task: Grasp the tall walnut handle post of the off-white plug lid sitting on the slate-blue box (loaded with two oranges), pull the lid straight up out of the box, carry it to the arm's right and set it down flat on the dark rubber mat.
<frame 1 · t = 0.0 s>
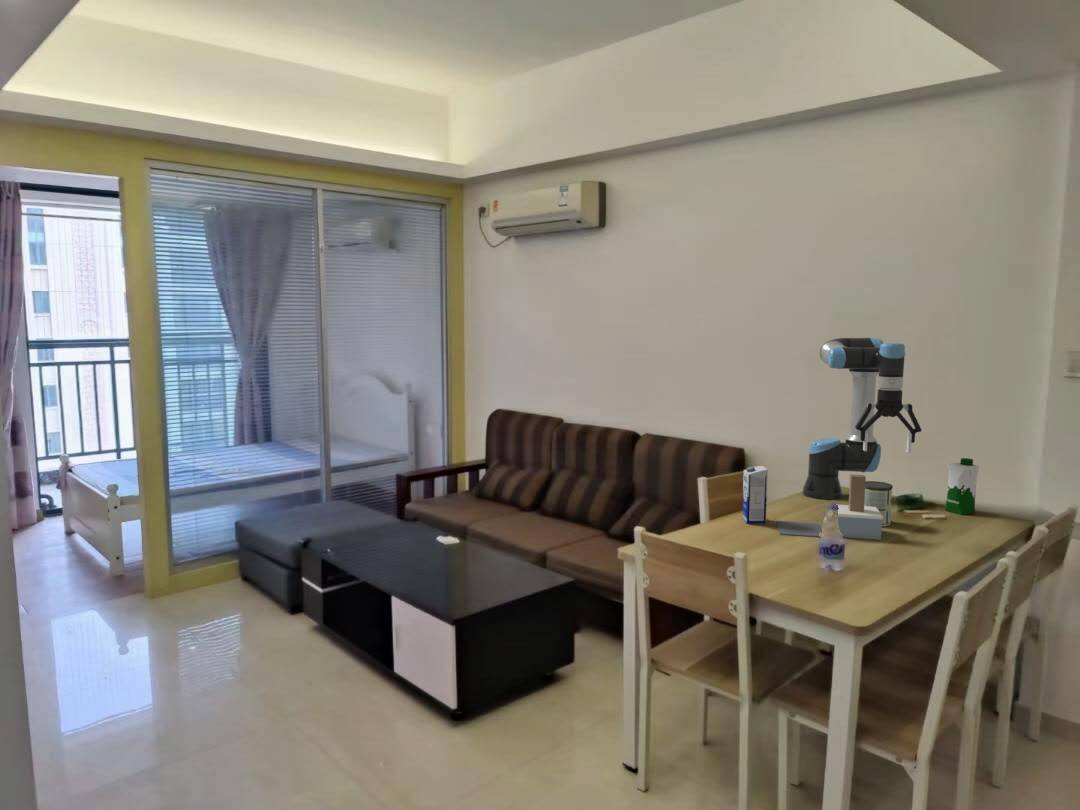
hand: (886, 451, 248), 28 cm above the table, fingers open, 13 cm apart
milk carton: (753, 521, 265), on the table
coffee can: (874, 523, 262), on the table
box: (854, 532, 250), on the table
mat: (799, 529, 254), on the table
lid: (855, 513, 249), point 7 cm above the table, touching box
soya milk: (959, 512, 276), on the table
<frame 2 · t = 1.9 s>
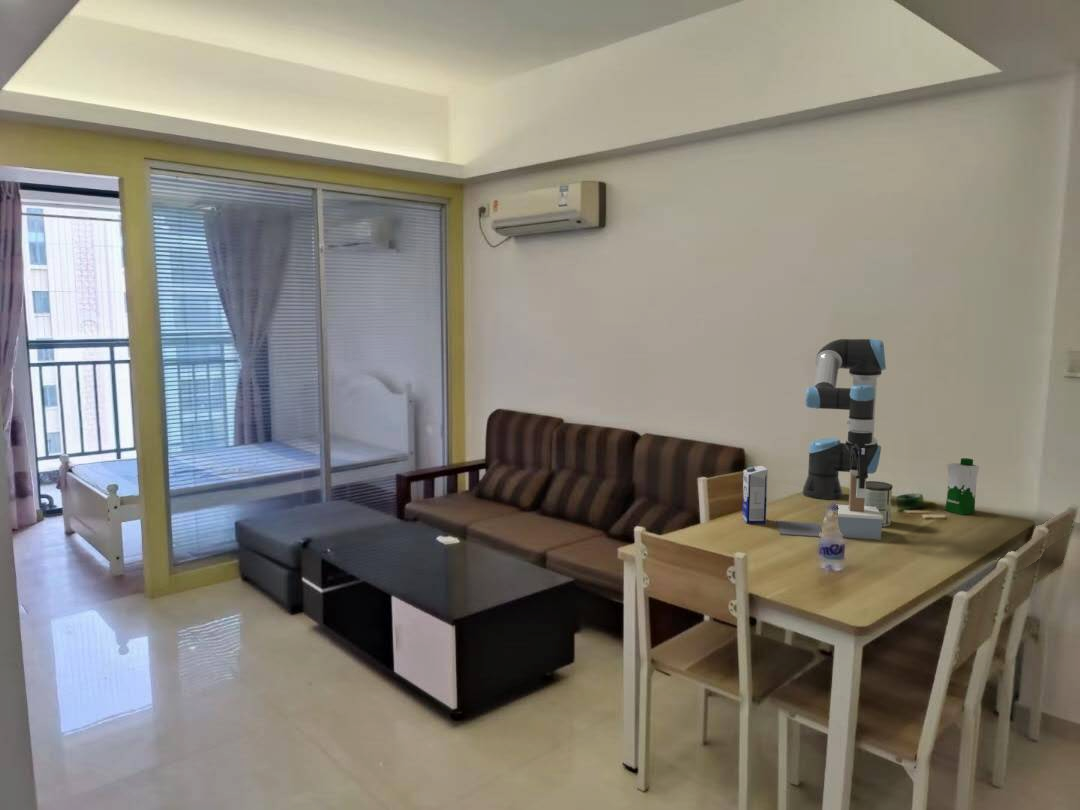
hand: (856, 493, 248), 14 cm above the table, fingers open, 13 cm apart
nothing on the table moved.
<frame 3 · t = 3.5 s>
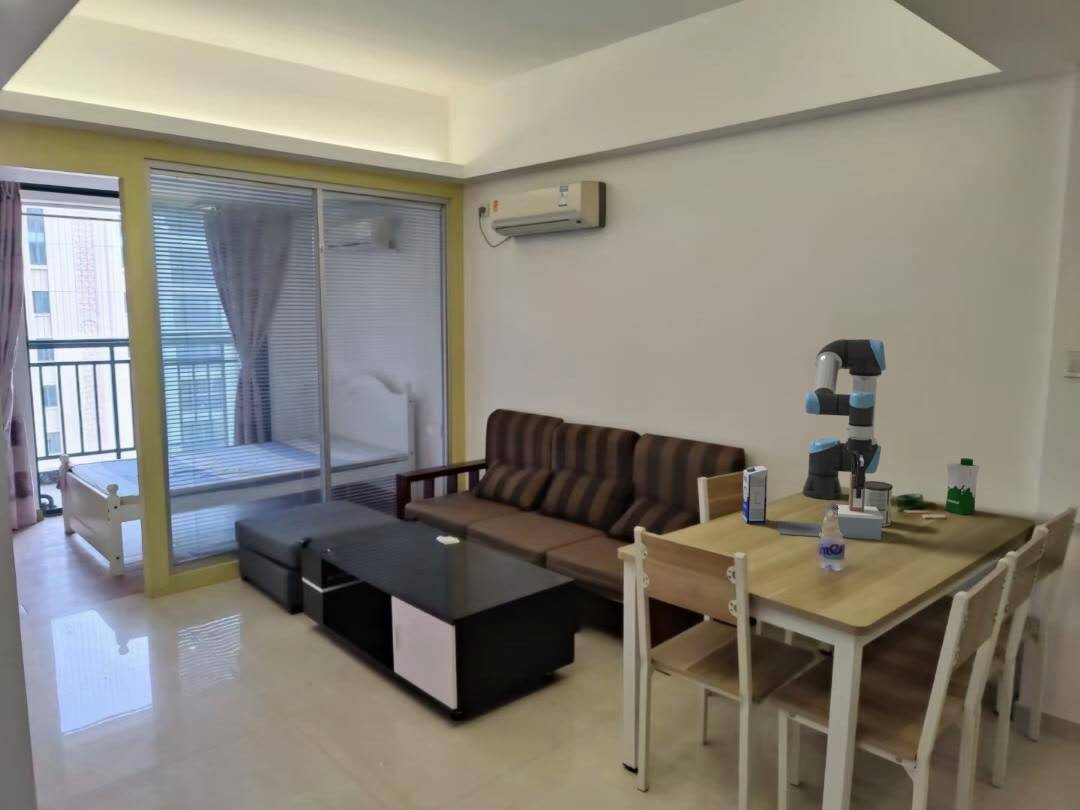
hand: (856, 505, 249), 10 cm above the table, fingers closed on lid, 3 cm apart
lid: (855, 513, 249), point 7 cm above the table, touching box, gripper
everything else where it was.
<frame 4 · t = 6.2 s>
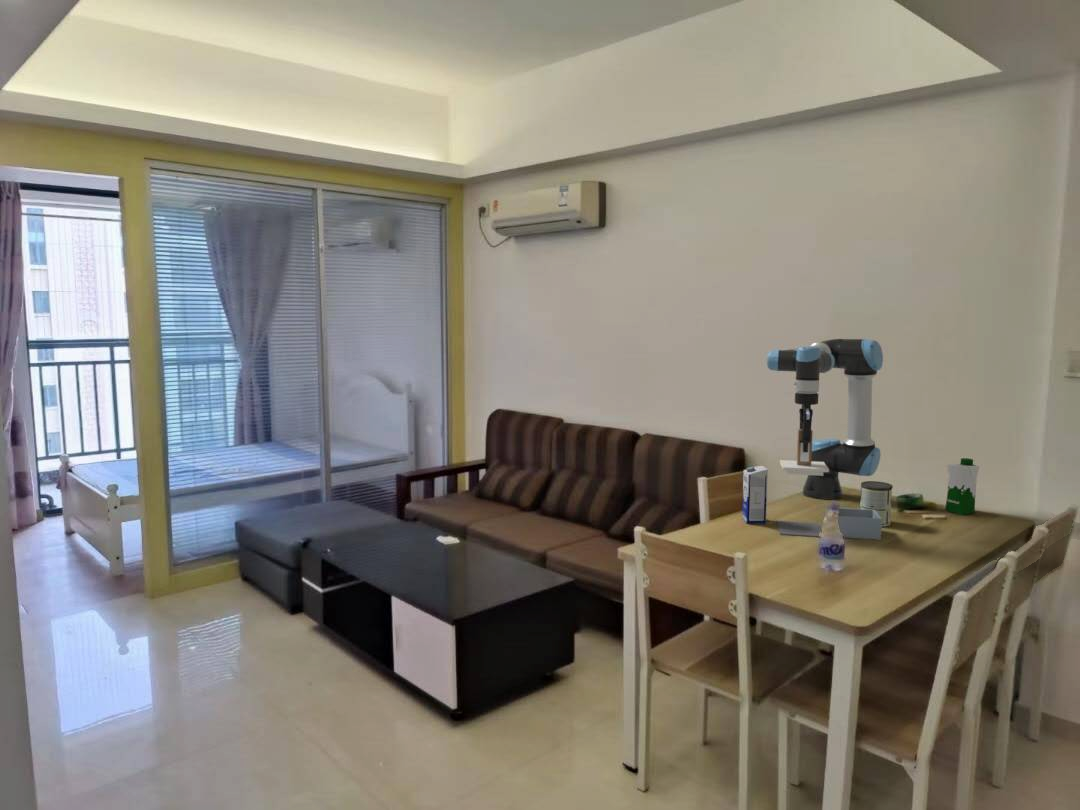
hand: (803, 460, 251), 25 cm above the table, fingers closed on lid, 3 cm apart
lid: (803, 467, 252), point 22 cm above the table, touching gripper
everything else where it was.
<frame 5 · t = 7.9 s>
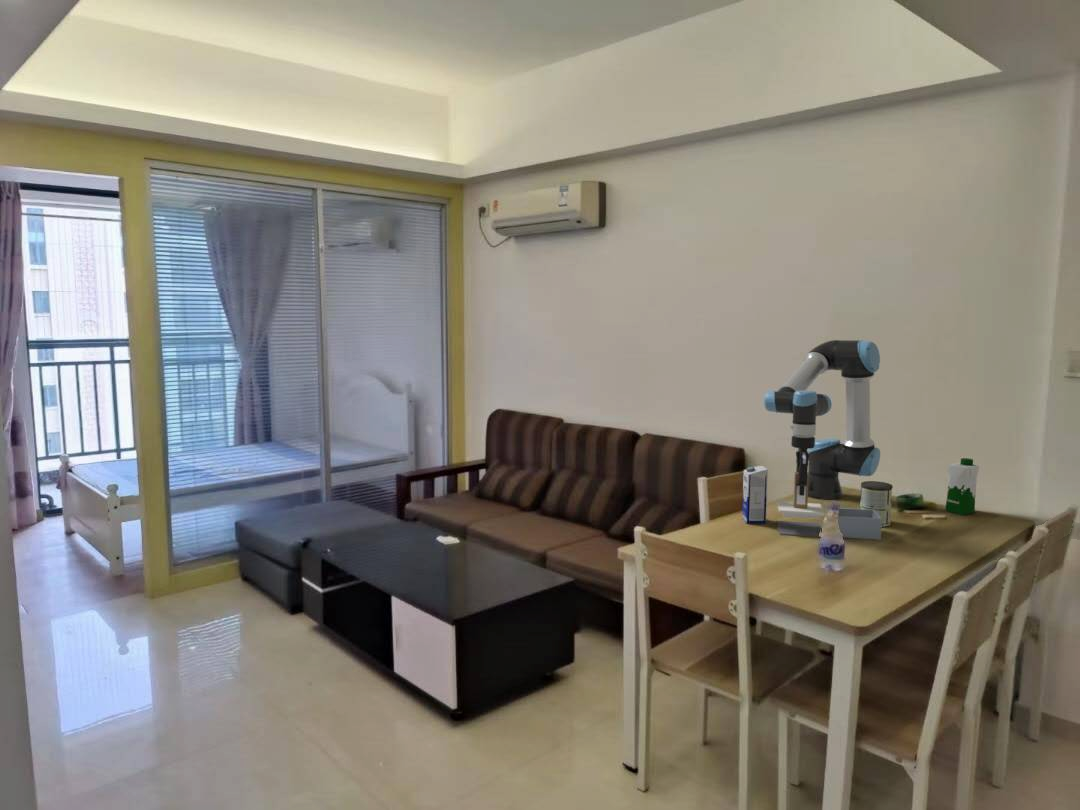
hand: (800, 502, 253), 10 cm above the table, fingers closed on lid, 3 cm apart
lid: (799, 509, 253), point 7 cm above the table, touching gripper
everything else where it was.
when the fingers open (6 cm above the table, at t = 9.0 s): lid drops 1 cm, resting on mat.
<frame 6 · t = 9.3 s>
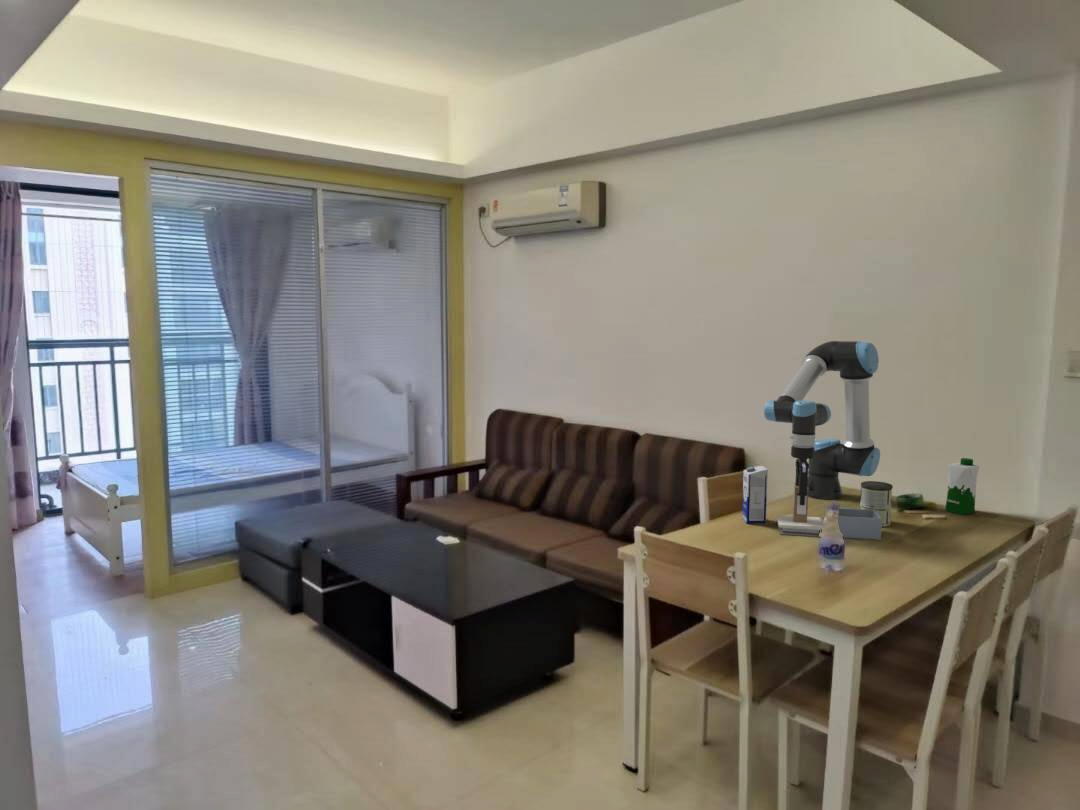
hand: (800, 510, 254), 7 cm above the table, fingers open, 8 cm apart
lid: (799, 523, 254), point 2 cm above the table, touching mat
everything else where it was.
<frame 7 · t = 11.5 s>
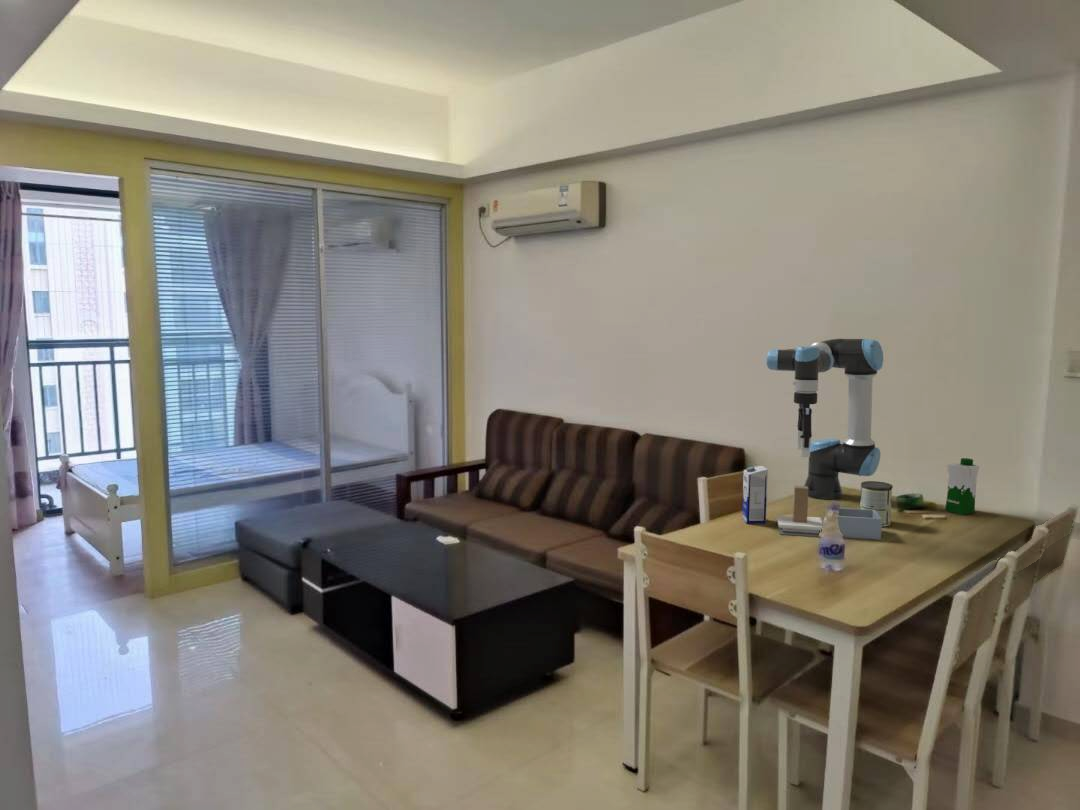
hand: (803, 453, 252), 27 cm above the table, fingers open, 13 cm apart
nothing on the table moved.
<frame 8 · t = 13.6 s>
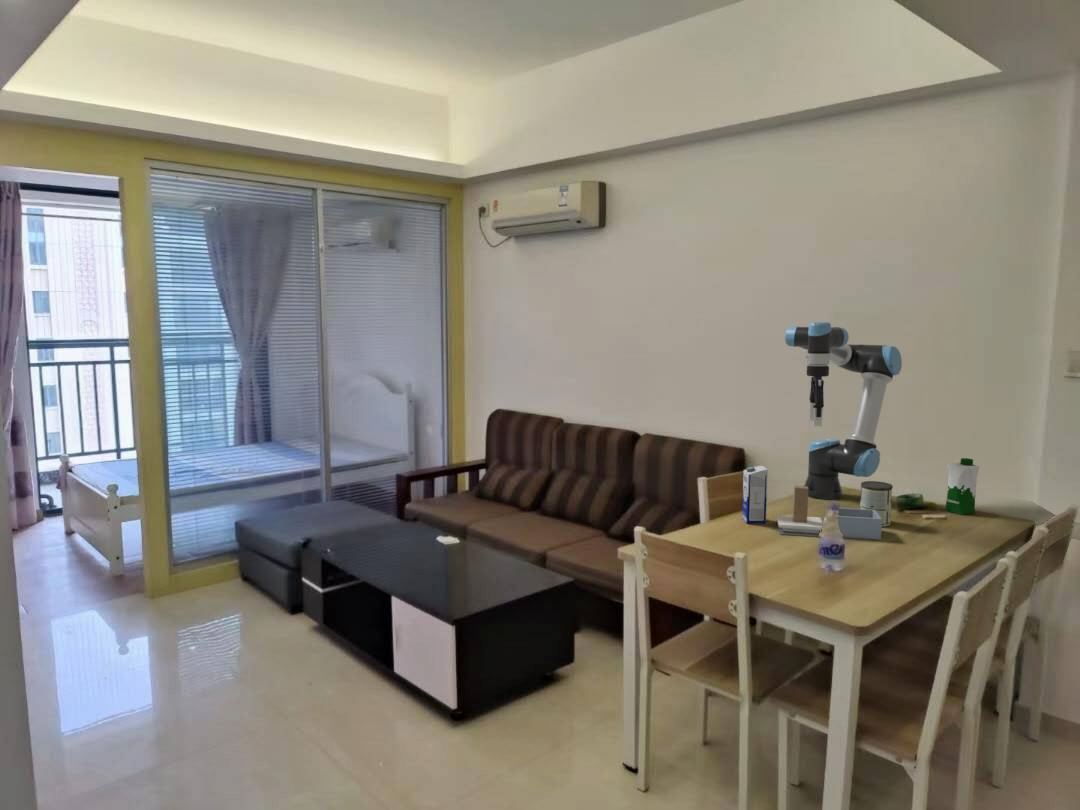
hand: (815, 423, 267), 35 cm above the table, fingers open, 13 cm apart
nothing on the table moved.
at the end: lid inside the target area on the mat (0.1 cm from its centre), point 2.0 cm above the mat's base; lid tilted 0°; lid touching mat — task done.
